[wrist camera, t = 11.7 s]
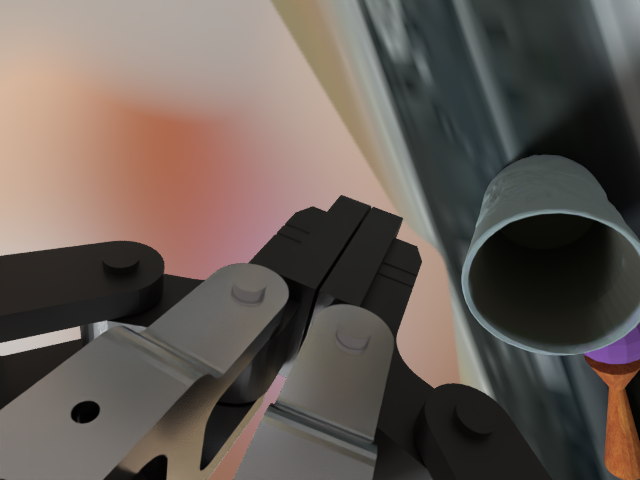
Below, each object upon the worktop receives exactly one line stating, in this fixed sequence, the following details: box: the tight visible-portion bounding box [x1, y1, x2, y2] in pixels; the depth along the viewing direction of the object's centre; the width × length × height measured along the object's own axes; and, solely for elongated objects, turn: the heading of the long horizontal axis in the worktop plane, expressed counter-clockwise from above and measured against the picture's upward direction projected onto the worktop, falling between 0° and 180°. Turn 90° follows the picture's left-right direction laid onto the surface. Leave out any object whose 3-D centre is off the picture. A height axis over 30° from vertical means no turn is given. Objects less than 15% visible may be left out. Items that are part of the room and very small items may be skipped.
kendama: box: [584, 322, 640, 480], centre depth 41 cm, size 6×6×20 cm
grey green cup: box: [462, 155, 640, 355], centre depth 33 cm, size 10×10×12 cm
